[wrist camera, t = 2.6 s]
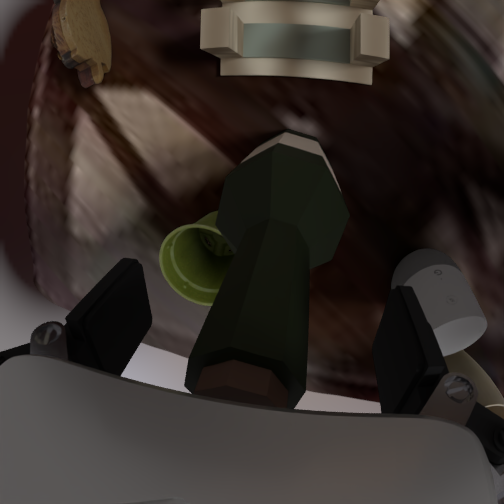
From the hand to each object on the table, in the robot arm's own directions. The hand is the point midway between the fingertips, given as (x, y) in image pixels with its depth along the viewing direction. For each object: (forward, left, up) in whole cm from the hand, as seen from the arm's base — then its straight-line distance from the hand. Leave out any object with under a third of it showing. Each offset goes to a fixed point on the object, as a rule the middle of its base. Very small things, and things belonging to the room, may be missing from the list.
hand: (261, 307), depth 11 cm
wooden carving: (+24, -18, -26) cm, 39 cm away
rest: (0, -20, -25) cm, 32 cm away
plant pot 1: (+8, +9, -26) cm, 28 cm away
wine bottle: (0, 0, -26) cm, 26 cm away
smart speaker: (-18, +12, -26) cm, 34 cm away
